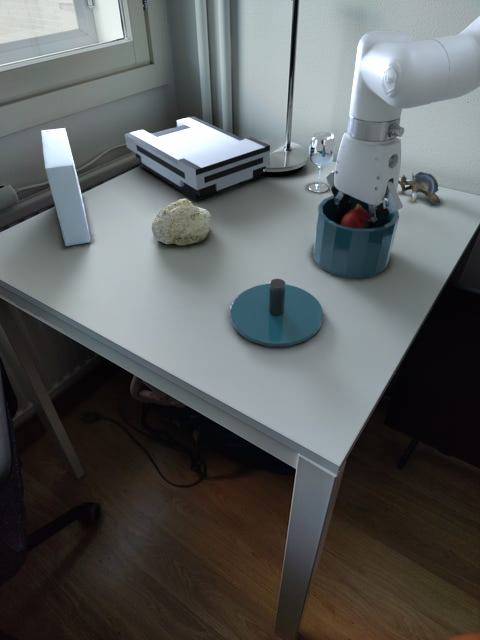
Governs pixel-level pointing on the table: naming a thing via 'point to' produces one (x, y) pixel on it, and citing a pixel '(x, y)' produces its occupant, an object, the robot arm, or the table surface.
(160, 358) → the table surface
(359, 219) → the red pomegranate
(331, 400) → the table surface
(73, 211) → the skincare box
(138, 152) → the game console
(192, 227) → the decorative item
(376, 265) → the pot
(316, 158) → the wineglass
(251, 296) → the lid
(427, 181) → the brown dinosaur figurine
